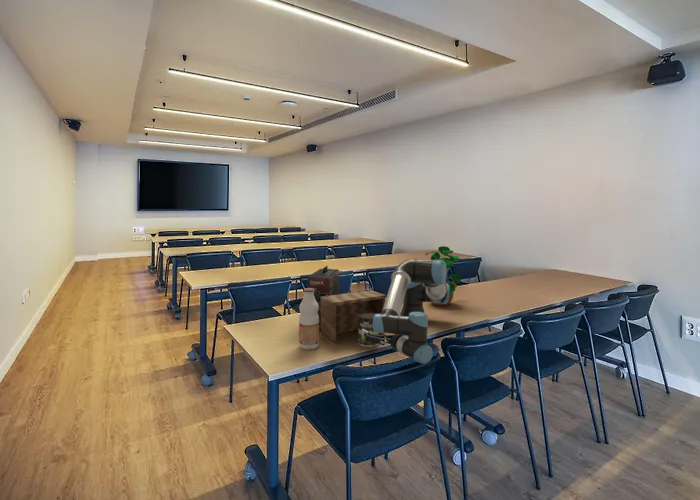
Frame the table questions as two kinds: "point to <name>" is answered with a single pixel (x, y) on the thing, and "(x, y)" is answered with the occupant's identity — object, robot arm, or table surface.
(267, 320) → the table surface
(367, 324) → the coffee can
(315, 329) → the fruit juice
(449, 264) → the potted plant
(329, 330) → the cubby
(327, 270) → the headset box
